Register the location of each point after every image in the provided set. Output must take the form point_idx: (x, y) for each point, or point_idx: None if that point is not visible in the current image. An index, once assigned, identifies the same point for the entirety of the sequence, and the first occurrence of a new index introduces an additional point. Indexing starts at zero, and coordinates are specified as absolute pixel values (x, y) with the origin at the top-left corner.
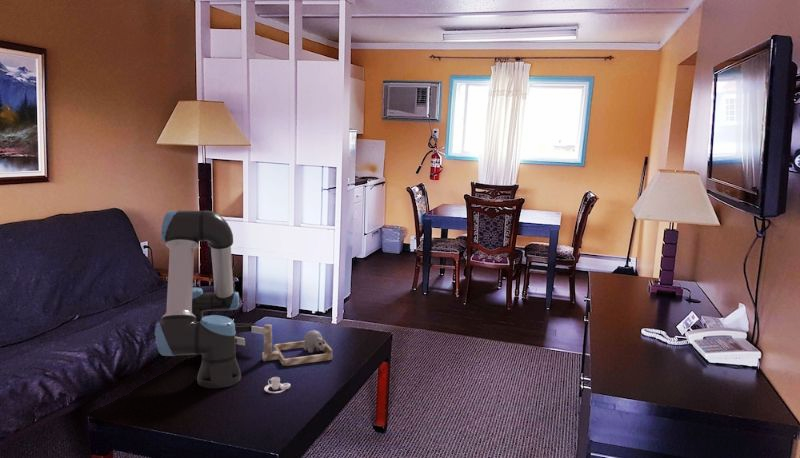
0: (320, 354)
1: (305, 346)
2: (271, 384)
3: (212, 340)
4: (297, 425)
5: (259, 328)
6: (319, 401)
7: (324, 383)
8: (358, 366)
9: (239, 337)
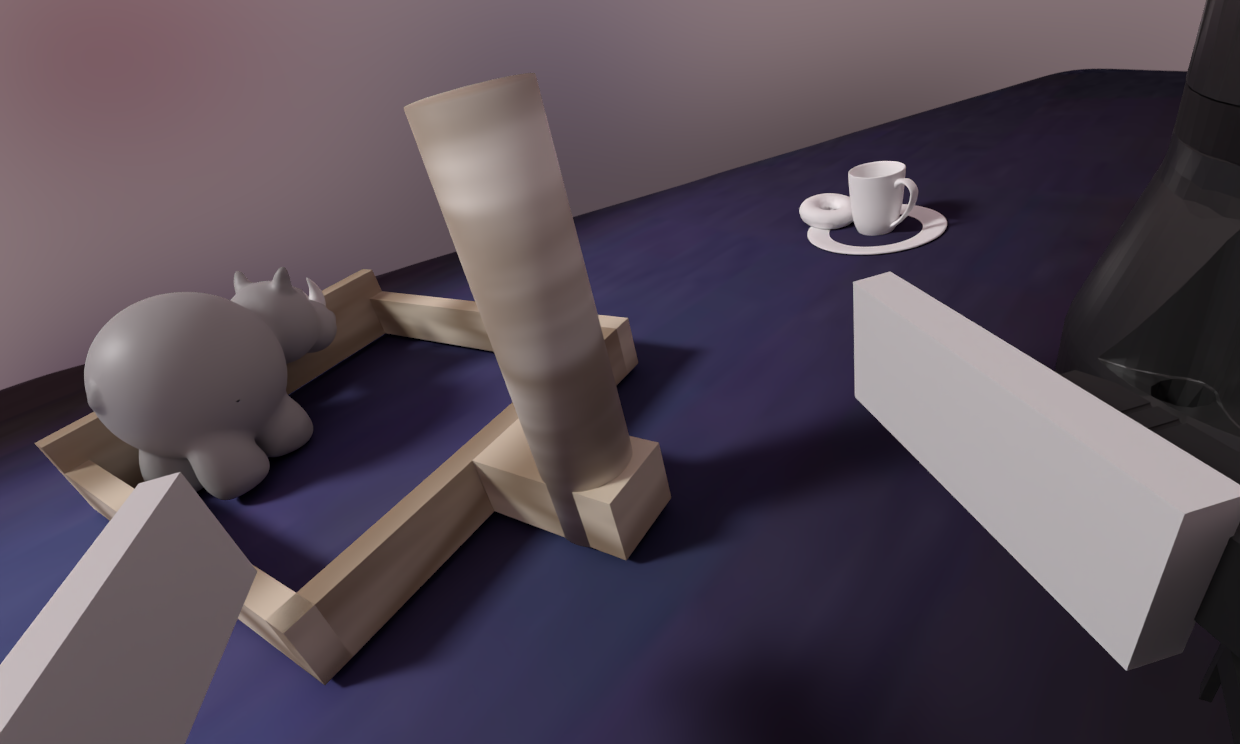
0: (411, 300)
1: (250, 446)
2: (902, 200)
3: None
4: (945, 110)
5: (122, 593)
6: (781, 161)
7: (654, 217)
8: (421, 264)
9: (943, 333)
